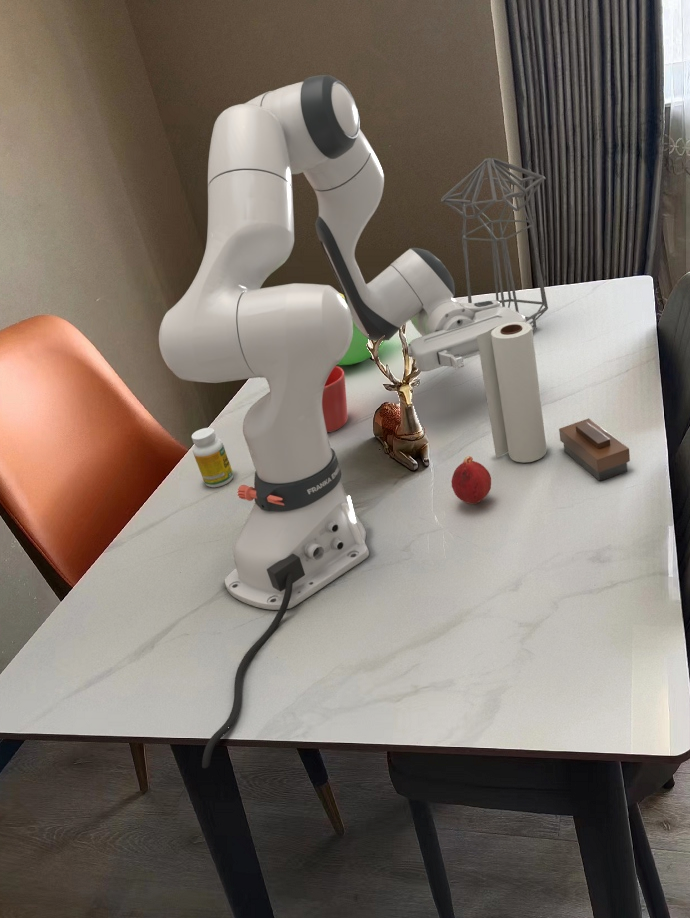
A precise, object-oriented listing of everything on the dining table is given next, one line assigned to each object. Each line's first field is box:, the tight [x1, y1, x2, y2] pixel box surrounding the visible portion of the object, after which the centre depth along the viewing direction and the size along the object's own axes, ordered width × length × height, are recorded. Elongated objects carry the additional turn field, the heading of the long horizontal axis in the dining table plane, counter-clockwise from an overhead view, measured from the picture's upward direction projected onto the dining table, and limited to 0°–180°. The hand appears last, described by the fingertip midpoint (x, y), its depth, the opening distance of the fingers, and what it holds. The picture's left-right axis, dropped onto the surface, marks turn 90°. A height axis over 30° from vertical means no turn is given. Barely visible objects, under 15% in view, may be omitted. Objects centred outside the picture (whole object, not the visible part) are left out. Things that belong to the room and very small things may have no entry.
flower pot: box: [322, 365, 348, 433], centre depth 160 cm, size 11×11×10 cm
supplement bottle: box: [191, 427, 234, 488], centre depth 150 cm, size 5×5×10 cm
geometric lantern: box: [440, 157, 549, 333], centre depth 170 cm, size 16×16×35 cm
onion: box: [451, 455, 492, 505], centre depth 127 cm, size 6×6×8 cm
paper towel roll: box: [477, 322, 548, 464], centre depth 132 cm, size 7×6×21 cm
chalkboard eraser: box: [558, 418, 631, 482], centre depth 131 cm, size 12×5×5 cm, turn 18°
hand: (485, 354), depth 140 cm, fingers open, 8 cm apart
